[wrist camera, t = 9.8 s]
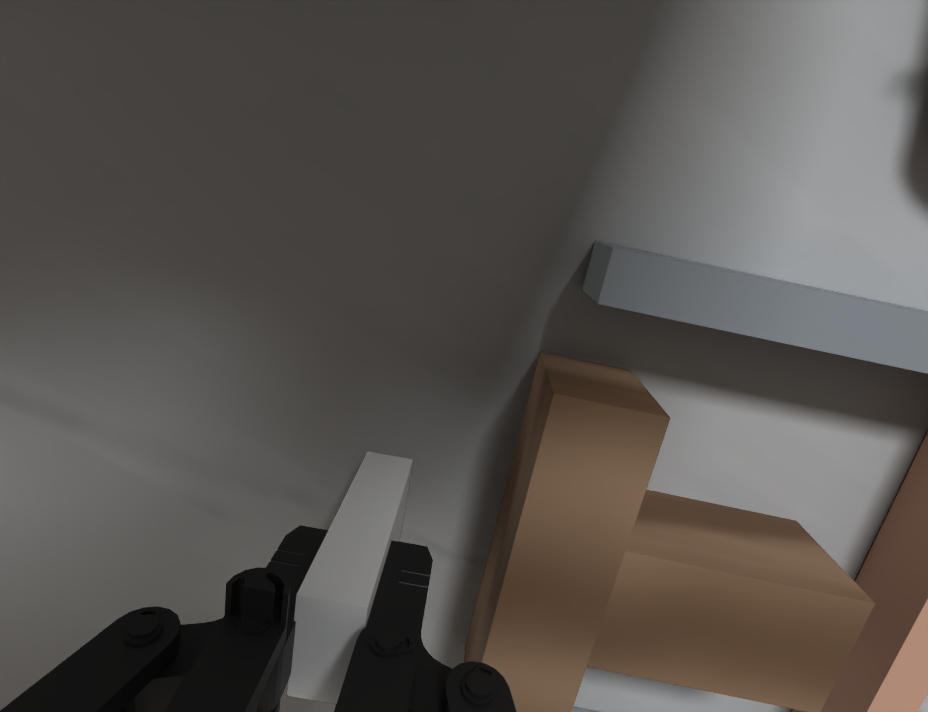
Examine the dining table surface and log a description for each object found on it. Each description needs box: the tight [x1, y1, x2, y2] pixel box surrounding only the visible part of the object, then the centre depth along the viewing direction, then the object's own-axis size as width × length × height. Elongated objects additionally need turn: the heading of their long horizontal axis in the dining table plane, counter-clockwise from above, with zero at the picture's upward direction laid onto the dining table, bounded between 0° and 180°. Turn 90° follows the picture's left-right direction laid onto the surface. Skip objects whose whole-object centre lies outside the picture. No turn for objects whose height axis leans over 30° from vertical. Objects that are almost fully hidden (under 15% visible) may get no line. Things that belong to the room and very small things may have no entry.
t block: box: [464, 352, 875, 712], centre depth 17 cm, size 12×10×4 cm
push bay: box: [571, 241, 928, 712], centre depth 18 cm, size 19×14×2 cm
